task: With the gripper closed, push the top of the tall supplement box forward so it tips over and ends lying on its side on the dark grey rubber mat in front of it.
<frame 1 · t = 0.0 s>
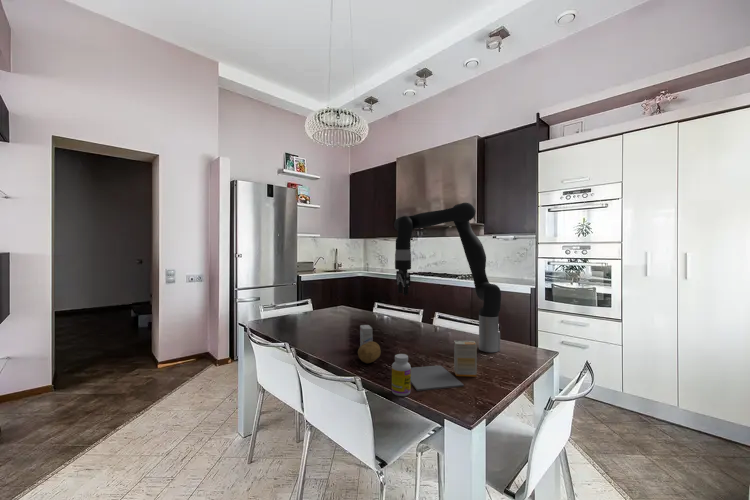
hand: (402, 293, 150), 29 cm above the table, tool pointing down, fingers open, 8 cm apart
ink box: (366, 350, 158), on the table
supplement bottle: (401, 393, 112), on the table
supplement box: (465, 375, 129), on the table
potato: (368, 362, 142), on the table
rubber mat: (430, 377, 125), on the table
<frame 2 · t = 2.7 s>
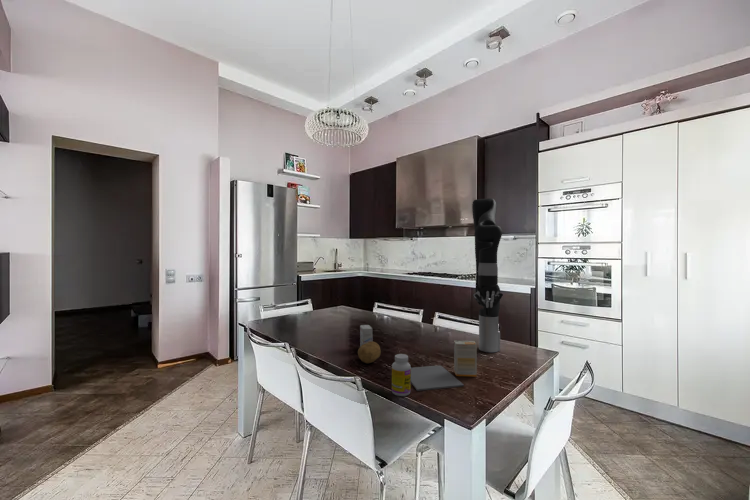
hand: (487, 316, 131), 23 cm above the table, tool pointing down, fingers closed
nothing on the table moved.
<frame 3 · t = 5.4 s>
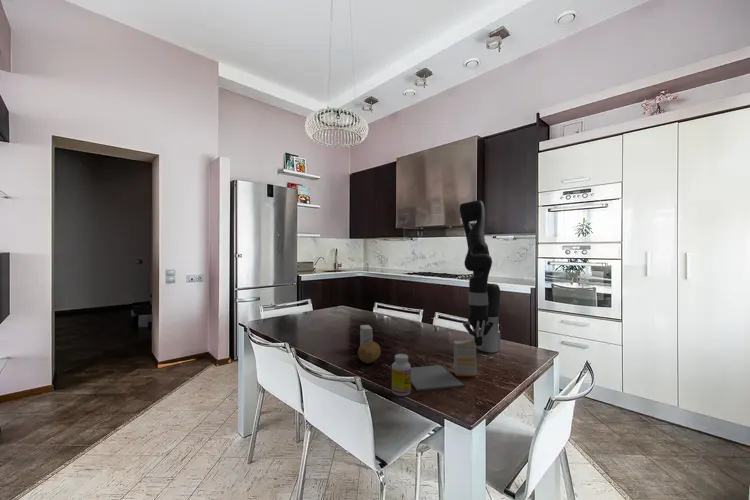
hand: (478, 345, 130), 11 cm above the table, tool pointing down, fingers closed
supplement box: (465, 374, 129), on the table, touching gripper
everything else where it was.
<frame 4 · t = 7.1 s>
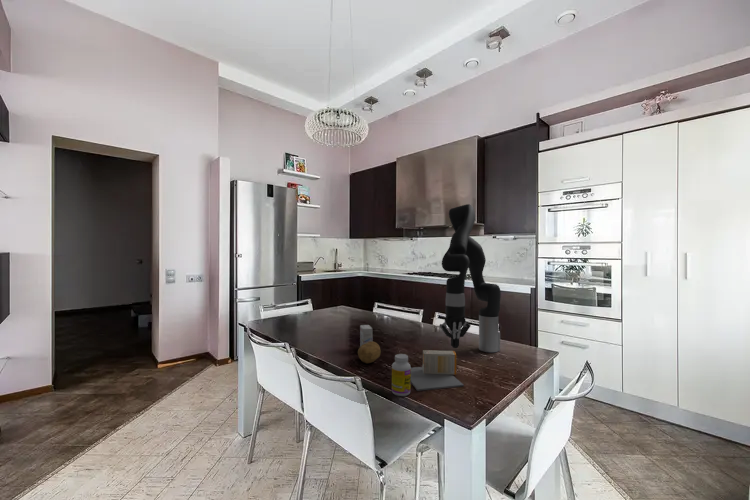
hand: (454, 347, 127), 11 cm above the table, tool pointing down, fingers closed
supplement box: (456, 362, 129), point 5 cm above the table, touching rubber mat
everything else where it was.
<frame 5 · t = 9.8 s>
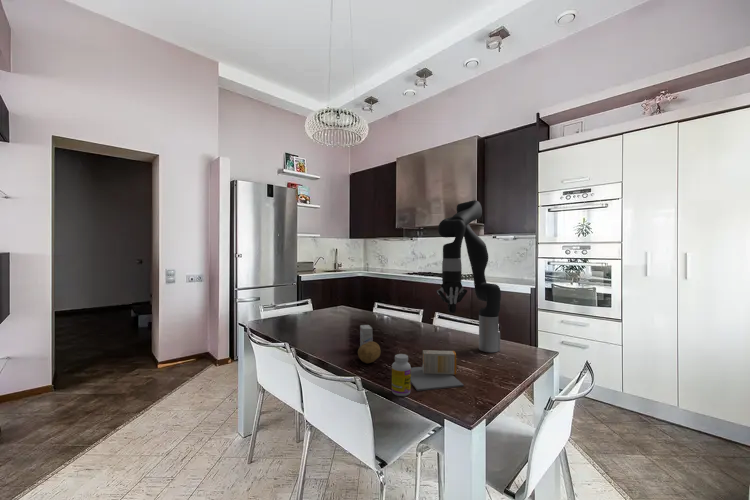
hand: (451, 313, 128), 25 cm above the table, tool pointing down, fingers closed
nothing on the table moved.
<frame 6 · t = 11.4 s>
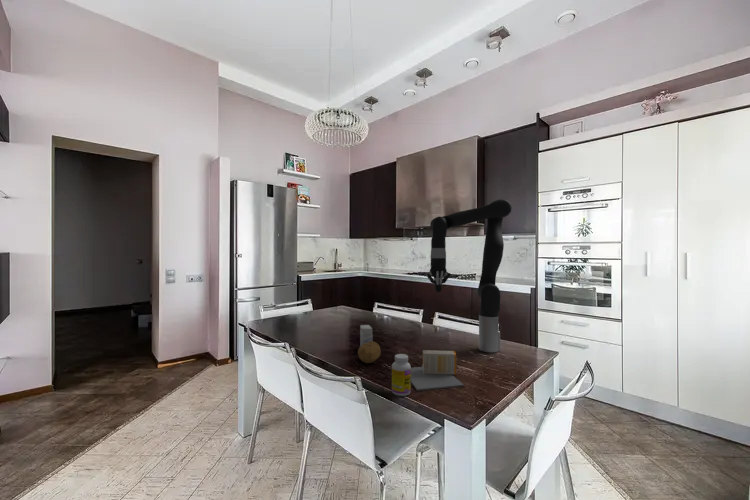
hand: (438, 292, 159), 29 cm above the table, tool pointing down, fingers closed
nothing on the table moved.
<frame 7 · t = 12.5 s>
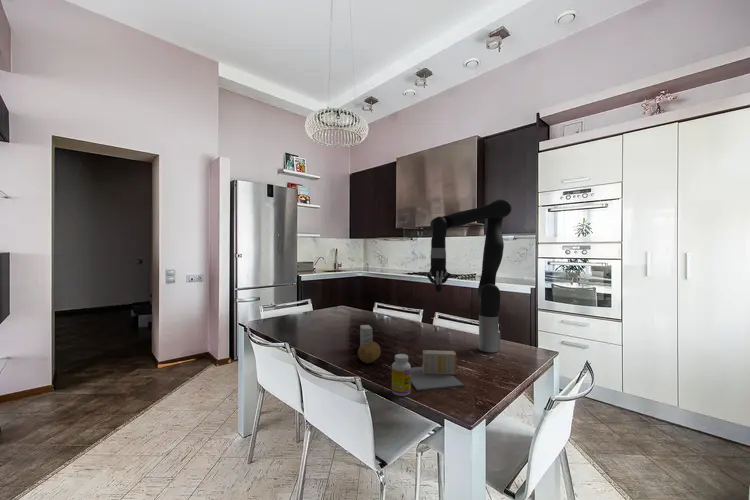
hand: (438, 291, 159), 29 cm above the table, tool pointing down, fingers closed
nothing on the table moved.
at the end: supplement box tilted 89°; supplement box inside the target area (2.8 cm from its centre), point 4.6 cm above the table; supplement box touching rubber mat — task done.
